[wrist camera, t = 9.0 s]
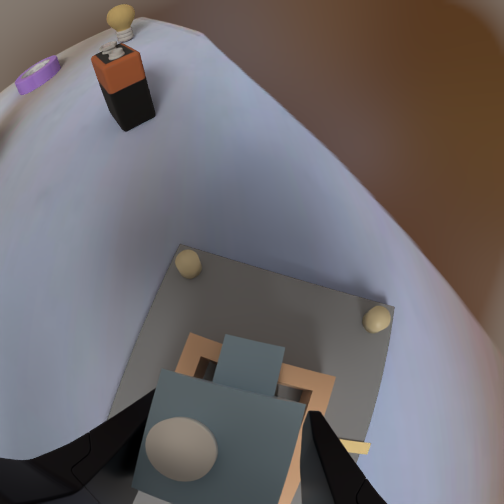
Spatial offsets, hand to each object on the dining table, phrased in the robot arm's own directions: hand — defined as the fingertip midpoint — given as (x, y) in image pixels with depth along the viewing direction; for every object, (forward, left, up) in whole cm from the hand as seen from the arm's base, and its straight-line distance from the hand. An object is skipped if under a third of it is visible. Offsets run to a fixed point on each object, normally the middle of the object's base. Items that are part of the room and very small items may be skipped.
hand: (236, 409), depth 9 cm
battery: (+24, +23, -9) cm, 34 cm away
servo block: (-1, 0, -7) cm, 8 cm away
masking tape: (+38, +64, -9) cm, 75 cm away
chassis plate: (-1, 0, -9) cm, 9 cm away
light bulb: (+53, +47, -9) cm, 71 cm away
